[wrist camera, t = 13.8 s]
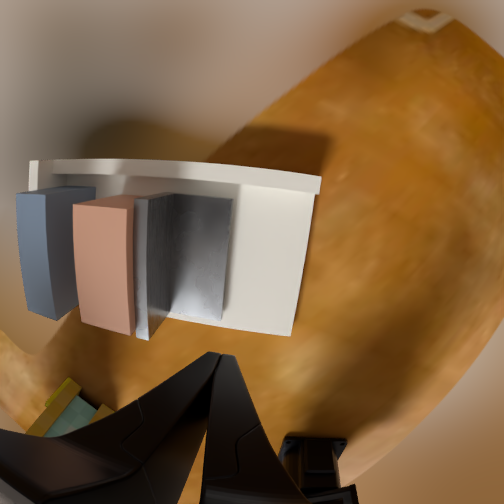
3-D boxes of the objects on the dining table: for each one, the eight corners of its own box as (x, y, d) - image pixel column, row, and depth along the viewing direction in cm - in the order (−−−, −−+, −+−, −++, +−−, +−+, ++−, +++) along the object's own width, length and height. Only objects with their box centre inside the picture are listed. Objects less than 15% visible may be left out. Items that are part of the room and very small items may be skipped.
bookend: (222, 317, 20) (208, 353, 16) (162, 306, 20) (136, 337, 16) (233, 198, 18) (219, 206, 13) (165, 191, 18) (134, 198, 14)
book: (68, 376, 26) (-53, 527, 2) (117, 413, 26) (18, 584, 2) (53, 430, 30) (-21, 535, 6) (89, 456, 31) (24, 569, 7)
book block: (163, 297, 20) (130, 335, 15) (121, 288, 20) (81, 321, 15) (167, 198, 18) (126, 209, 13) (121, 194, 19) (72, 204, 13)
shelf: (290, 329, 21) (292, 386, 15) (69, 287, 22) (22, 318, 16) (315, 175, 18) (333, 177, 12) (66, 159, 19) (9, 162, 13)
